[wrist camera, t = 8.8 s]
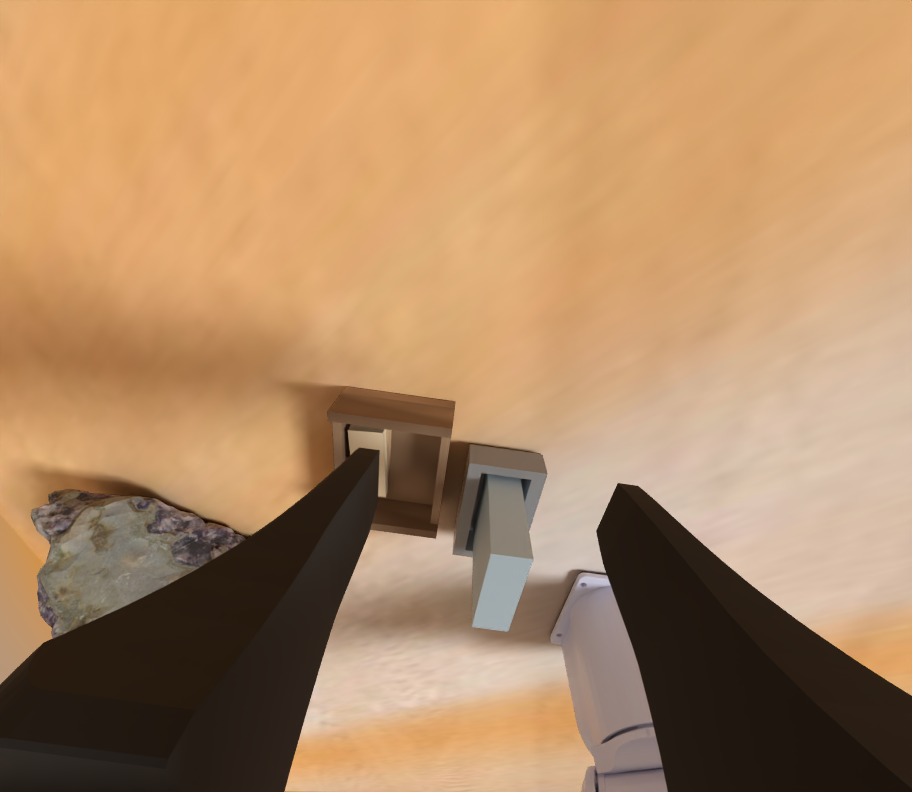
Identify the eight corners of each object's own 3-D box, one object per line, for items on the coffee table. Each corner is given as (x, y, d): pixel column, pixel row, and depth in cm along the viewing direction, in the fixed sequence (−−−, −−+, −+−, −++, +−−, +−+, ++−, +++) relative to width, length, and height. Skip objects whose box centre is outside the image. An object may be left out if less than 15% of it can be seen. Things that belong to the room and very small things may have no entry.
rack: (440, 503, 25) (435, 538, 23) (348, 491, 25) (333, 524, 22) (455, 401, 21) (452, 429, 19) (346, 386, 21) (327, 411, 19)
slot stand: (515, 537, 26) (518, 563, 24) (454, 528, 26) (452, 554, 24) (541, 451, 23) (547, 473, 21) (470, 441, 23) (469, 463, 21)
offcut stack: (390, 490, 24) (385, 505, 23) (355, 485, 24) (349, 500, 23) (394, 420, 21) (388, 433, 20) (355, 414, 21) (347, 427, 20)
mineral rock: (77, 470, 26) (-134, 606, 17) (195, 436, 24) (26, 571, 15) (189, 581, 31) (75, 728, 22) (293, 561, 29) (213, 714, 20)
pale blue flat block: (500, 529, 25) (508, 631, 19) (473, 525, 25) (471, 627, 19) (518, 464, 23) (533, 559, 16) (487, 459, 23) (491, 553, 16)
